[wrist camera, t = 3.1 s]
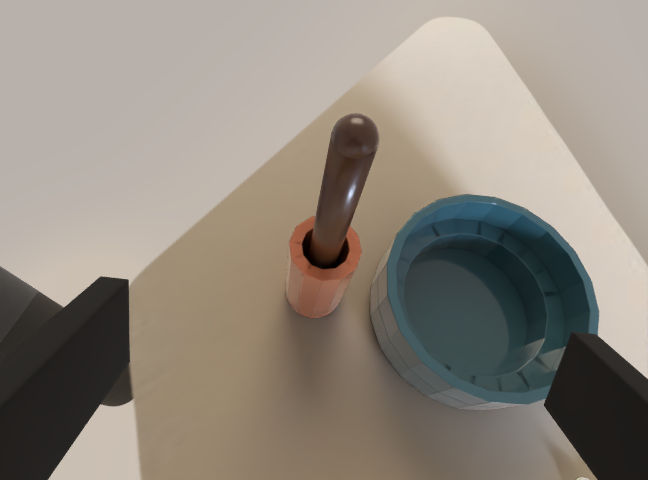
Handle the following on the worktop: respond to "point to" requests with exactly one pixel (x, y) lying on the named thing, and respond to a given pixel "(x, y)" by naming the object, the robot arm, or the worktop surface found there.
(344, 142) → the stirring stick
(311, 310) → the crock
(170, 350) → the worktop surface
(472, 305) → the bowl
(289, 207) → the worktop surface
